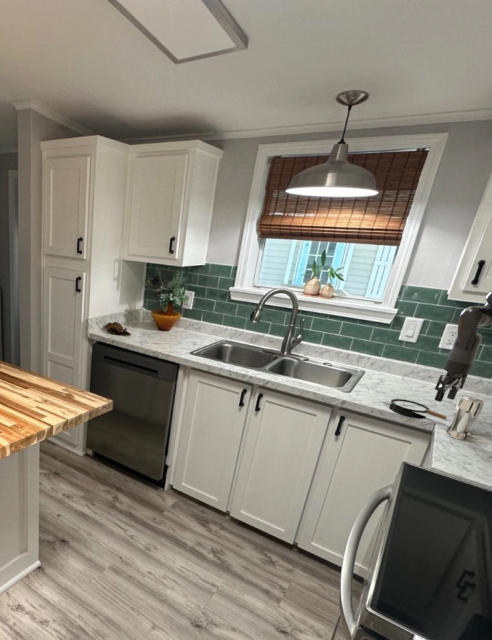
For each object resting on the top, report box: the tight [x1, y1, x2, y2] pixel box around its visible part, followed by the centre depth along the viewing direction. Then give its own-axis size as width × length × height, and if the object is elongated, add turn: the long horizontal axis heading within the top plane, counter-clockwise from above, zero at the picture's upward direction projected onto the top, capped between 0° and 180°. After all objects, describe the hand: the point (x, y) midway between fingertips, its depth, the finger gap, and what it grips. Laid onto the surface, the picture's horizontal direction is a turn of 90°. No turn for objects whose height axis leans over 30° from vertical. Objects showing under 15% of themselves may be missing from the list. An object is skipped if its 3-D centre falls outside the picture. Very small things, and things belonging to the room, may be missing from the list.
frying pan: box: [388, 398, 447, 420], centre depth 167 cm, size 20×13×4 cm, turn 24°
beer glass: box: [445, 395, 486, 441], centre depth 149 cm, size 7×7×15 cm
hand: (444, 399), depth 158 cm, fingers open, 8 cm apart
